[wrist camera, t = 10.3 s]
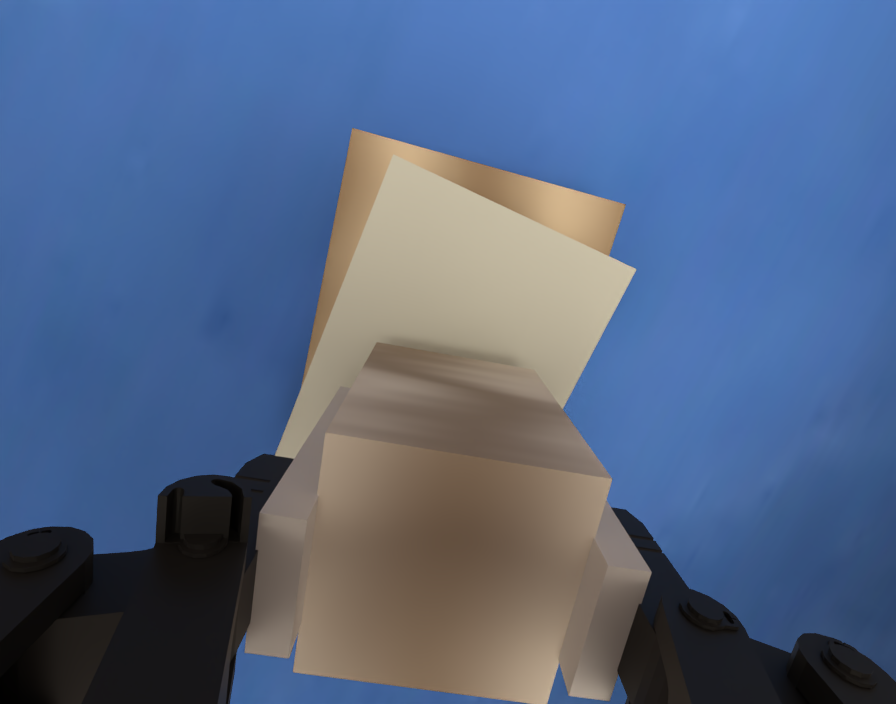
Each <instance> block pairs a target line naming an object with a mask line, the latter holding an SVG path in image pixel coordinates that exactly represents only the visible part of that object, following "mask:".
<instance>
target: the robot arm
mask: <svg viewBox="0 0 896 704" xmlns="http://www.w3.org/2000/svg"><path fill="white" fill-rule="evenodd" d="M349 390H350V388H348V387H342V386H340V388H339V389H338V391H337V393H336V394H335V396H334V397H333V399H332V400H331V402H330V404H329V405H328V407H327V408H326V410H325V411H324V413H323V414H322V416H321V418H320V419H319V421H318V422H317V424H316V425H315V427H314V428H313V430H312V432H311V433H310V435H309V436H308V438H307V439H306V441H305V442H304V444H303V446H302V447H301V449H300V450H299V452H298V453H297V455H296V457H295V458H294V459H293V458H287V457H280V456H274V455H268V454H263V455H261V456H259V457H257V458H255V459H253V460H251V461H249V462H247V463H245V465H244V466H243V467H242V468H241V469H240V471H239V472H238V473H237V474H236V476H235V478H232V477H229V476H221V475H201V476H194V477H190V478H186V479H182V480H179V481H177V482H175V483H173V484H171V485H169V486H167V487H166V488H165V489H164V490H163V491H162V492H161V493H160V494H159V495H158V504H157V524H156V543H155V546H154V548H151V549H148V550H142V551H134V552H123V553H108V554H94V555H93V538H92V537H91V536H90V535H89V534H88V533H86V532H85V531H82V530H79V529H76V528H72V527H43V528H37V529H32V530H28V531H25V532H22V533H19V534H16V535H13V536H10V537H7V538H5V539H3V540H1V541H0V704H230V697H231V691H232V685H233V679H234V672H235V663H236V653H237V649H238V647H239V645H240V643H241V641H242V639H243V637H244V635H245V633H246V630H247V635H246V644H245V653H251V654H259V655H266V656H274V657H281V658H289V657H290V654H291V651H292V648H293V645H294V643H295V640H296V637H297V634H298V631H299V628H300V626H301V621H302V613H303V606H304V599H305V591H306V584H307V577H308V569H309V562H310V555H311V548H312V540H313V533H314V526H315V518H316V511H317V504H318V496H319V495H317V491H318V484H319V476H320V469H321V462H322V454H323V447H324V439H325V432H326V431H327V429H328V427H329V425H330V424H331V422H332V420H333V418H334V417H335V415H336V413H337V411H338V410H339V408H340V406H341V404H342V402H343V401H344V399H345V397H346V395H347V394H348V392H349ZM558 660H559V663H560V667H561V670H562V674H563V677H564V681H565V684H566V688H567V691H568V695H569V696H574V697H582V698H589V699H597V700H604V701H610V698H611V695H612V692H613V689H614V686H615V683H616V680H617V677H618V674H619V677H620V679H621V682H622V684H623V686H624V689H625V691H626V694H627V696H628V697H627V700H626V703H625V704H896V682H895V681H894V680H893V679H892V678H891V677H890V676H889V675H888V674H887V673H886V672H885V671H884V670H882V669H881V668H880V667H879V666H878V665H876V664H875V663H874V662H873V661H872V660H871V659H869V658H868V657H866V656H864V655H863V654H861V653H860V652H858V651H857V650H856V649H855V648H854V647H852V646H850V645H848V644H846V643H842V642H841V641H839V640H837V639H834V638H830V637H827V636H823V635H820V634H816V633H804V634H802V635H801V636H800V637H799V638H798V639H797V641H796V644H795V646H794V648H793V651H792V653H789V652H786V651H783V650H780V649H778V648H775V647H772V646H770V645H767V644H764V643H761V642H759V641H756V640H753V639H751V638H749V636H748V634H747V632H746V630H745V628H744V627H743V625H742V624H741V622H740V621H739V620H738V618H737V617H736V616H735V615H734V614H733V613H732V612H731V611H729V610H728V609H727V608H726V607H725V606H724V605H722V604H721V603H719V602H717V601H716V600H714V599H712V598H711V597H709V596H707V595H705V594H702V593H700V592H697V591H695V590H692V589H689V588H688V587H687V585H686V584H685V582H684V581H683V580H682V578H681V577H680V575H679V574H678V572H677V571H676V570H675V568H674V567H673V565H672V564H671V563H670V561H669V560H668V558H667V557H666V556H665V554H664V553H662V550H661V548H660V547H659V546H658V544H657V543H656V541H653V537H652V536H651V534H650V533H649V532H648V530H647V529H646V527H645V526H644V524H643V523H642V522H640V521H639V520H638V519H637V518H635V517H634V516H633V515H632V514H630V513H629V512H628V511H627V510H624V509H618V508H612V507H610V505H609V504H608V502H607V501H606V503H605V506H604V509H603V513H602V516H601V520H600V523H599V527H598V530H597V534H596V537H595V538H593V542H592V545H591V549H590V552H589V556H588V559H587V563H586V566H585V569H584V573H583V576H582V580H581V583H580V587H579V590H578V594H577V597H576V600H575V604H574V607H573V611H572V614H571V618H570V621H569V625H568V628H567V631H566V635H565V638H564V642H563V645H562V649H561V652H560V656H559V659H558Z"/></svg>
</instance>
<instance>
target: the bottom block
mask: <svg viewBox="0 0 896 704" xmlns="http://www.w3.org/2000/svg"><path fill="white" fill-rule="evenodd" d="M393 154H394V155H396V156H398V157H400V158H402V159H404V160H406V161H409V162H411V163H413V164H415V165H417V166H419V167H421V168H423V169H425V170H428V171H430V172H432V173H434V174H436V175H438V176H440V177H442V178H444V179H447V180H449V181H451V182H453V183H455V184H457V185H459V186H461V187H464V188H466V189H468V190H470V191H472V192H474V193H476V194H478V195H480V196H483V197H485V198H487V199H489V200H491V201H493V202H495V203H497V204H499V205H502V206H504V207H506V208H508V209H510V210H512V211H514V212H516V213H518V214H521V215H523V216H525V217H527V218H529V219H531V220H533V221H535V222H538V223H540V224H542V225H544V226H546V227H548V228H550V229H552V230H554V231H557V232H559V233H561V234H563V235H565V236H567V237H569V238H571V239H573V240H576V241H578V242H580V243H582V244H584V245H586V246H588V247H590V248H592V249H595V250H597V251H599V252H601V253H603V254H605V255H607V256H609V254H610V251H611V248H612V245H613V242H614V239H615V236H616V233H617V230H618V227H619V224H620V221H621V218H622V214H623V211H624V208H625V204H622V203H618V202H615V201H611V200H608V199H604V198H600V197H597V196H593V195H590V194H586V193H583V192H579V191H575V190H572V189H568V188H565V187H561V186H558V185H554V184H550V183H547V182H543V181H540V180H536V179H533V178H529V177H525V176H522V175H518V174H515V173H511V172H508V171H504V170H501V169H497V168H493V167H490V166H486V165H483V164H479V163H476V162H472V161H468V160H465V159H461V158H458V157H454V156H451V155H447V154H443V153H440V152H436V151H433V150H429V149H426V148H422V147H418V146H415V145H411V144H408V143H404V142H401V141H397V140H393V139H390V138H386V137H383V136H379V135H376V134H372V133H368V132H365V131H361V130H358V129H354V128H352V133H351V138H350V143H349V148H348V153H347V159H346V164H345V169H344V174H343V179H342V184H341V189H340V194H339V199H338V204H337V209H336V214H335V219H334V224H333V229H332V235H331V240H330V245H329V250H328V255H327V260H326V265H325V270H324V275H323V280H322V285H321V290H320V295H319V300H318V305H317V311H316V316H315V321H314V326H313V331H312V336H311V341H310V346H309V351H308V356H307V361H306V366H305V371H304V376H303V381H302V385H303V383H304V380H305V377H306V375H307V372H308V370H309V367H310V365H311V362H312V360H313V357H314V355H315V352H316V349H317V347H318V344H319V342H320V339H321V337H322V334H323V332H324V329H325V327H326V324H327V321H328V319H329V316H330V314H331V311H332V309H333V306H334V304H335V301H336V299H337V296H338V294H339V291H340V288H341V286H342V283H343V281H344V278H345V276H346V273H347V271H348V268H349V266H350V263H351V260H352V258H353V255H354V253H355V250H356V248H357V245H358V243H359V240H360V238H361V235H362V232H363V230H364V227H365V225H366V222H367V220H368V217H369V215H370V212H371V210H372V207H373V205H374V202H375V199H376V197H377V194H378V192H379V189H380V187H381V184H382V182H383V179H384V177H385V174H386V171H387V169H388V166H389V164H390V161H391V159H392V156H393ZM301 388H302V387H301Z"/></svg>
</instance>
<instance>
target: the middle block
mask: <svg viewBox="0 0 896 704" xmlns="http://www.w3.org/2000/svg"><path fill="white" fill-rule="evenodd" d="M635 271H636V269H635V268H633V267H631V266H628V265H626V264H624V263H622V262H620V261H618V260H616V259H614V258H612V257H609V256H607V255H605V254H603V253H601V252H599V251H597V250H595V249H592V248H590V247H588V246H586V245H584V244H582V243H580V242H578V241H576V240H573V239H571V238H569V237H567V236H565V235H563V234H561V233H559V232H557V231H554V230H552V229H550V228H548V227H546V226H544V225H542V224H540V223H538V222H535V221H533V220H531V219H529V218H527V217H525V216H523V215H521V214H518V213H516V212H514V211H512V210H510V209H508V208H506V207H504V206H502V205H499V204H497V203H495V202H493V201H491V200H489V199H487V198H485V197H483V196H480V195H478V194H476V193H474V192H472V191H470V190H468V189H466V188H464V187H461V186H459V185H457V184H455V183H453V182H451V181H449V180H447V179H444V178H442V177H440V176H438V175H436V174H434V173H432V172H430V171H428V170H425V169H423V168H421V167H419V166H417V165H415V164H413V163H411V162H409V161H406V160H404V159H402V158H400V157H398V156H396V155H394V154H393V156H392V159H391V161H390V164H389V166H388V169H387V171H386V174H385V177H384V179H383V182H382V184H381V187H380V189H379V192H378V194H377V197H376V199H375V202H374V205H373V207H372V210H371V212H370V215H369V217H368V220H367V222H366V225H365V227H364V230H363V232H362V235H361V238H360V240H359V243H358V245H357V248H356V250H355V253H354V255H353V258H352V260H351V263H350V266H349V268H348V271H347V273H346V276H345V278H344V281H343V283H342V286H341V288H340V291H339V294H338V296H337V299H336V301H335V304H334V306H333V309H332V311H331V314H330V316H329V319H328V321H327V324H326V327H325V329H324V332H323V334H322V337H321V339H320V342H319V344H318V347H317V349H316V352H315V355H314V357H313V360H312V362H311V365H310V367H309V370H308V372H307V375H306V377H305V380H304V383H303V385H302V388H301V390H300V393H299V395H298V398H297V400H296V403H295V405H294V408H293V411H292V413H291V416H290V418H289V421H288V423H287V426H286V428H285V431H284V433H283V436H282V438H281V441H280V444H279V446H278V449H277V451H276V454H275V456H280V457H287V458H293V459H294V458H295V457H296V455H297V453H298V452H299V450H300V449H301V447H302V446H303V444H304V442H305V441H306V439H307V438H308V436H309V435H310V433H311V432H312V430H313V428H314V427H315V425H316V424H317V422H318V421H319V419H320V418H321V416H322V414H323V413H324V411H325V410H326V408H327V407H328V405H329V404H330V402H331V400H332V399H333V397H334V396H335V394H336V393H337V391H338V389H339V388H340V386H342V387H348V388H351V387H352V385H353V383H354V381H355V380H356V378H357V376H358V374H359V373H360V371H361V369H362V367H363V366H364V364H365V362H366V360H367V359H368V357H369V355H370V353H371V352H372V350H373V348H374V346H375V345H376V343H377V342H379V343H385V344H391V345H396V346H402V347H408V348H413V349H419V350H425V351H431V352H436V353H442V354H448V355H453V356H459V357H465V358H470V359H476V360H482V361H488V362H493V363H499V364H505V365H510V366H516V367H522V368H527V369H533V370H535V371H536V373H537V374H538V376H539V377H540V378H541V380H542V381H543V383H544V384H545V385H546V387H547V388H548V390H549V391H550V392H551V394H552V395H553V397H554V398H555V399H556V401H557V402H558V404H559V405H560V406H561V408H562V409H563V408H564V406H565V404H566V402H567V400H568V398H569V396H570V394H571V392H572V391H573V389H574V387H575V385H576V383H577V381H578V379H579V377H580V375H581V373H582V372H583V370H584V368H585V366H586V364H587V362H588V360H589V358H590V356H591V355H592V353H593V351H594V349H595V347H596V345H597V343H598V341H599V339H600V338H601V336H602V334H603V332H604V330H605V328H606V326H607V324H608V322H609V321H610V319H611V317H612V315H613V313H614V311H615V309H616V307H617V305H618V303H619V302H620V300H621V298H622V296H623V294H624V292H625V290H626V288H627V286H628V285H629V283H630V281H631V279H632V277H633V275H634V273H635Z"/></svg>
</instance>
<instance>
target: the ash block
mask: <svg viewBox="0 0 896 704" xmlns="http://www.w3.org/2000/svg"><path fill="white" fill-rule="evenodd" d="M611 482H612V478H611V477H610V475H609V474H608V472H607V471H606V470H605V468H604V467H603V465H602V464H601V462H600V461H599V460H598V458H597V457H596V455H595V454H594V453H593V451H592V450H591V448H590V447H589V446H588V444H587V443H586V441H585V440H584V439H583V437H582V436H581V434H580V433H579V432H578V430H577V429H576V427H575V426H574V425H573V423H572V422H571V420H570V419H569V418H568V416H567V415H566V413H565V412H564V411H563V409H562V408H561V406H560V405H559V404H558V402H557V401H556V399H555V398H554V397H553V395H552V394H551V392H550V391H549V390H548V388H547V387H546V385H545V384H544V383H543V381H542V380H541V378H540V377H539V376H538V374H537V373H536V371H535V370H533V369H527V368H522V367H516V366H510V365H505V364H499V363H493V362H488V361H482V360H476V359H470V358H465V357H459V356H453V355H448V354H442V353H436V352H431V351H425V350H419V349H413V348H408V347H402V346H396V345H391V344H385V343H379V342H377V343H376V345H375V346H374V348H373V350H372V352H371V353H370V355H369V357H368V359H367V360H366V362H365V364H364V366H363V367H362V369H361V371H360V373H359V374H358V376H357V378H356V380H355V381H354V383H353V385H352V387H351V388H350V390H349V392H348V394H347V395H346V397H345V399H344V401H343V402H342V404H341V406H340V408H339V410H338V411H337V413H336V415H335V417H334V418H333V420H332V422H331V424H330V425H329V427H328V429H327V431H326V432H325V439H324V447H323V454H322V462H321V469H320V476H319V484H318V491H317V495H319V496H318V504H317V511H316V518H315V526H314V533H313V540H312V548H311V555H310V562H309V569H308V577H307V584H306V591H305V599H304V606H303V613H302V621H301V626H300V628H299V631H298V639H297V646H296V653H295V661H294V668H293V672H294V673H302V674H310V675H317V676H325V677H333V678H340V679H348V680H355V681H363V682H371V683H378V684H386V685H394V686H401V687H409V688H417V689H424V690H432V691H439V692H447V693H455V694H462V695H470V696H478V697H485V698H493V699H501V700H508V701H516V702H523V703H531V704H547V702H548V699H549V695H550V692H551V688H552V685H553V681H554V678H555V674H556V671H557V668H558V664H559V660H558V659H559V656H560V652H561V649H562V645H563V642H564V638H565V635H566V631H567V628H568V625H569V621H570V618H571V614H572V611H573V607H574V604H575V600H576V597H577V594H578V590H579V587H580V583H581V580H582V576H583V573H584V569H585V566H586V563H587V559H588V556H589V552H590V549H591V545H592V542H593V538H595V537H596V534H597V530H598V527H599V523H600V520H601V516H602V513H603V509H604V506H605V503H606V499H607V496H608V492H609V489H610V485H611Z"/></svg>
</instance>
